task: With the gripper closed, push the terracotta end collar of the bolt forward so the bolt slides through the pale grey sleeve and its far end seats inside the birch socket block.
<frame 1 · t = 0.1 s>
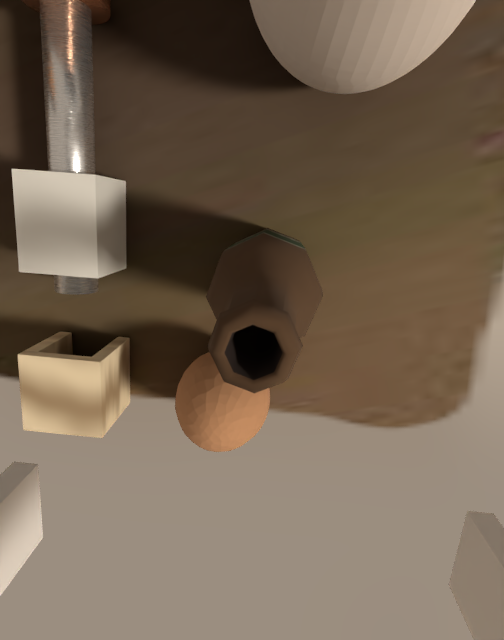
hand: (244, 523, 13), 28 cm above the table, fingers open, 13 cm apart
bolt: (71, 149, 34), point 3 cm above the table, slide at 0.0 cm
sleeve: (91, 223, 38), on the table
beer bottle: (268, 269, 39), on the table
egg: (230, 374, 42), on the table
socket: (95, 362, 42), on the table
vase: (337, 30, 33), on the table
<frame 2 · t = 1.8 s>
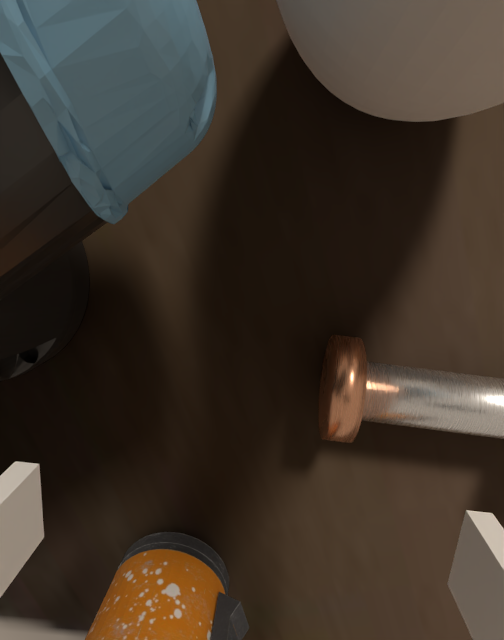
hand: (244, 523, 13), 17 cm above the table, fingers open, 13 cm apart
canister: (188, 567, 34), on the table
vase: (389, 26, 23), on the table
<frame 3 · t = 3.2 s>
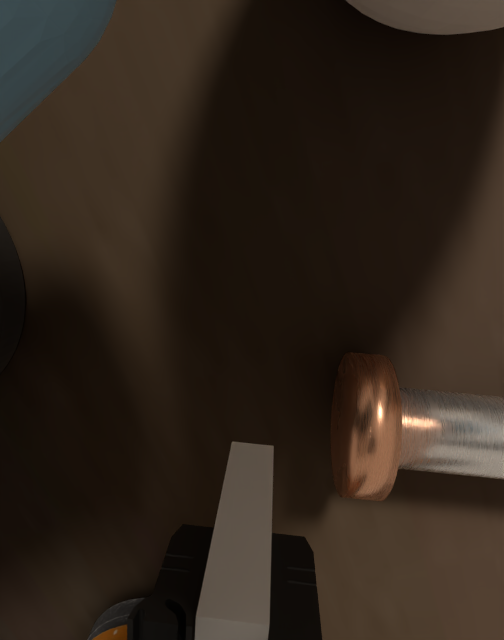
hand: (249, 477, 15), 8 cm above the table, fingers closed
canister: (174, 634, 28), on the table
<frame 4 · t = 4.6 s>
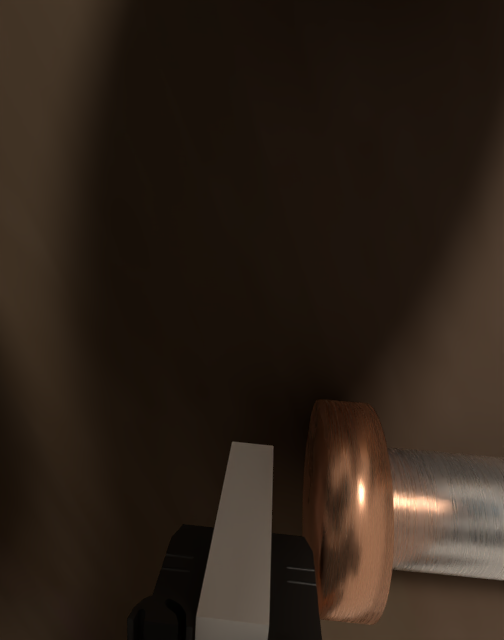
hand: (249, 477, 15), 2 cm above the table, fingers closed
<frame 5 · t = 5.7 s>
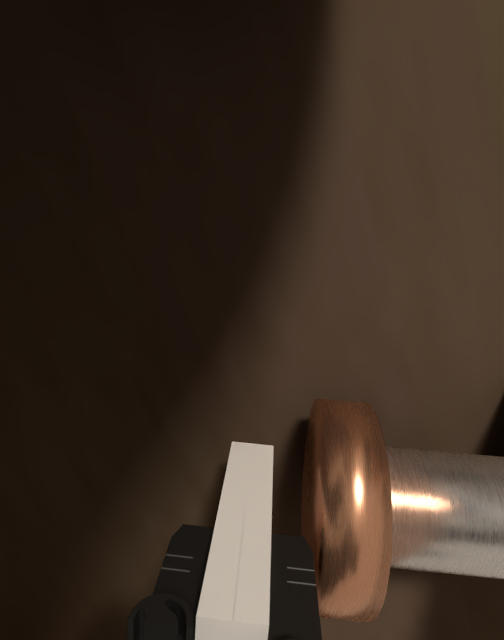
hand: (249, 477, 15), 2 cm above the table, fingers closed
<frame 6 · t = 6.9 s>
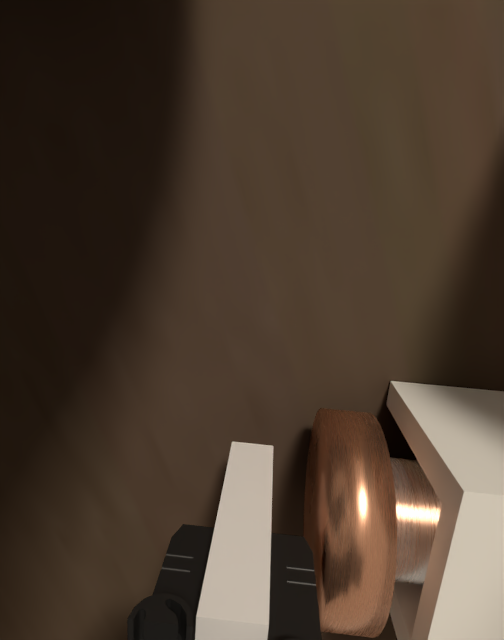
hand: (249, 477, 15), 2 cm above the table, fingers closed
sleeve: (477, 466, 16), on the table
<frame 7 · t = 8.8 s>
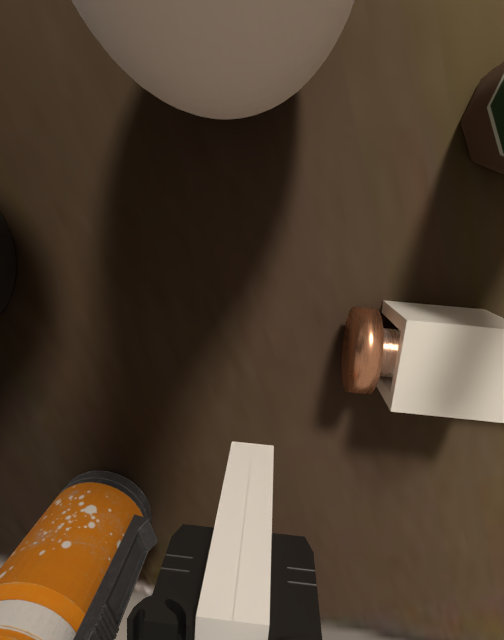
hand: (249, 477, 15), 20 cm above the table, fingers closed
sleeve: (425, 343, 34), on the table
canister: (118, 502, 40), on the table
vase: (238, 42, 29), on the table
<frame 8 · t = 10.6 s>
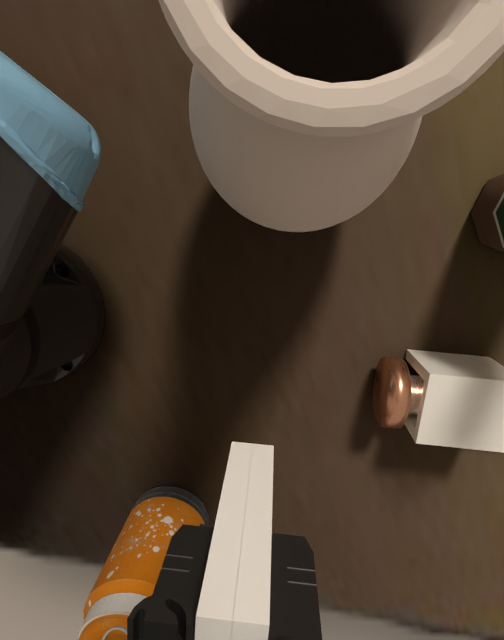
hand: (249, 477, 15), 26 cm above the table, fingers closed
sleeve: (441, 383, 41), on the table
canister: (180, 512, 47), on the table
vase: (294, 148, 37), on the table
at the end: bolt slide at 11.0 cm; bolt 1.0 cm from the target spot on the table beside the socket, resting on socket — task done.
